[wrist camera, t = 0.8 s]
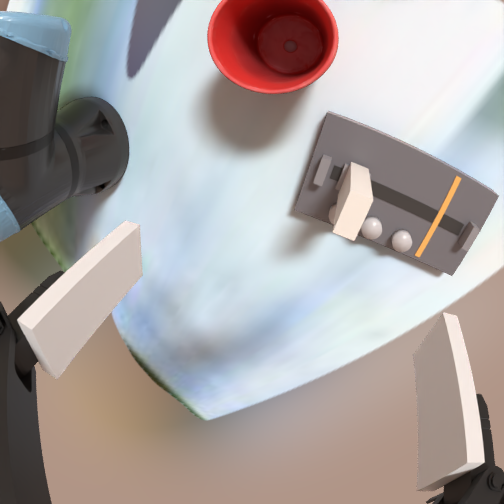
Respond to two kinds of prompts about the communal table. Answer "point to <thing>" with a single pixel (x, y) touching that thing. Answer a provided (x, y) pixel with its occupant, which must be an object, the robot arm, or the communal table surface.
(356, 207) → the fader tab
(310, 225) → the communal table surface
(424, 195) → the console
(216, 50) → the flower pot
